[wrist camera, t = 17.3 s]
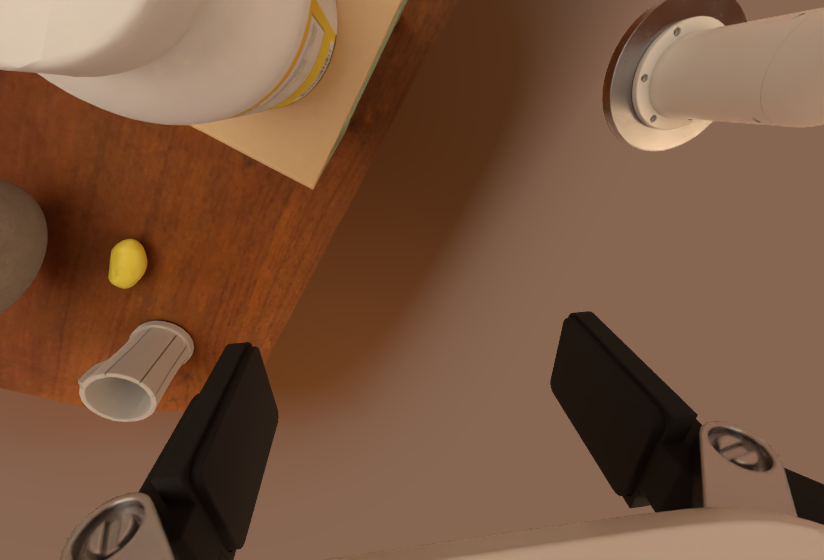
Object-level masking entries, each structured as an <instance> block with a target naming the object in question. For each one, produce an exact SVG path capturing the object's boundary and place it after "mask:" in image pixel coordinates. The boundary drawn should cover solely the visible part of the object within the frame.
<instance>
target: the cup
mask: <svg viewBox="0 0 824 560" xmlns="http://www.w3.org/2000/svg"><path fill="white" fill-rule="evenodd" d="M193 350H194V344H193V340H192V339H191V337H190V335H189V334H188V333H187V332H186V331H185V330H184V329H182V328H181V327H179V326H177V325H175V324H172V323H169V322H166V321H150V322H145V323H143V324H141V325H140V326H138V327H137V328H136V329H135V330H134V331H133V333H132V334H131V335H130V338H129V341H128V342H127V343H126V344H125V345H124V346H123V347H122V348H121V349H120V350H119V351H118V352H116V353H115V354H114V355H113V356H112V357H111V358H110V359H109V360H105V361H103V362H100V363H98V364H96V365H94V366H93V367H92V368H91V369H89V370H88V371H87V372H86V373H85V374H84V375H83V376H81V377H80V378H79V379H78V382H79V385H80V391H79V394H80V397H81V400H82V402H83V403H84V404H85V405H86V406H87V408H88V409H90V410H91V411H93V412H94V413H96V414H99V413H100V414H99V416H102V417H104V418H107V419H110V420H115V421H120V422H131V421H138V420H142V419H144V418H146V417H148V416H150V415H151V414H152V413H153V412H154V411H155V409H156V407H157V406H158V404H159V402H160V400H161V398H162V396H163V395H164V393H165V391H166V389H167V387H168V386H169V384H170V382H171V381H172V379H173V377H174V376H175V374H176V373H177V371H178V369H179V368H180V366H181V365H183V364H185V363H186V362H187V361H188V359H189V358H190V357H191V355H192V354H193Z"/></svg>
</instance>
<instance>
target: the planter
mask: <svg viewBox="0 0 824 560" xmlns="http://www.w3.org/2000/svg"><path fill="white" fill-rule="evenodd" d="M47 241H48V231H47V223H46V219H45V216H44V214H43V212H42V209H41V208H40V206H39V204H38V203H37V202H36V200H35V199H34V198H33V197H32V196H31V195H30V194H29V193H27V192H26V191H25V190H23V189H22V188H20V187H18V186H17V185H14V184H12V183H10V182H7V181H3V180H0V314H2V313H3V312H4V311H6V310H7V309H8V308H9V307H10V306H11V305H13V304H14V303H15V302H16V301H17V300H18V299H19V298H20V297H21V296H22V295H23V294H24V292H25V291H26V290H27V289H28V287H29V286H30V285H31V283H32V282H33V280H34V279H35V277H36V275H37V274H38V272H39V270H40V268H41V265H42V263H43V260H44V257H45V253H46V249H47Z"/></svg>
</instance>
